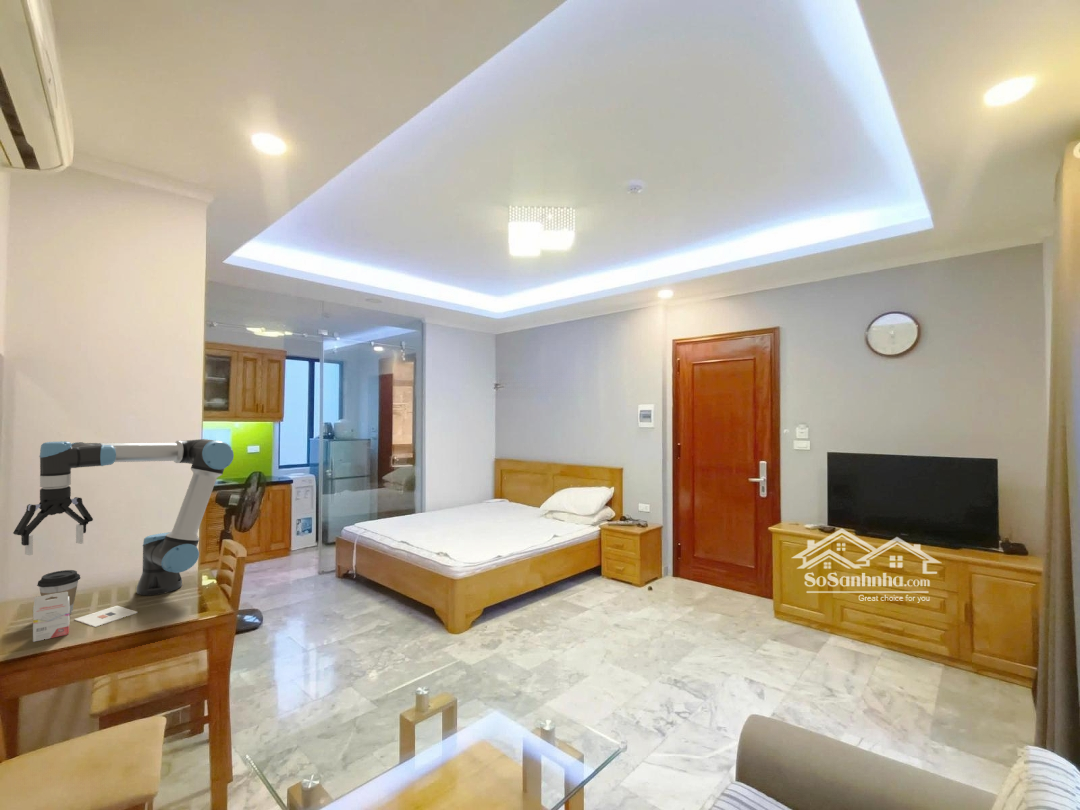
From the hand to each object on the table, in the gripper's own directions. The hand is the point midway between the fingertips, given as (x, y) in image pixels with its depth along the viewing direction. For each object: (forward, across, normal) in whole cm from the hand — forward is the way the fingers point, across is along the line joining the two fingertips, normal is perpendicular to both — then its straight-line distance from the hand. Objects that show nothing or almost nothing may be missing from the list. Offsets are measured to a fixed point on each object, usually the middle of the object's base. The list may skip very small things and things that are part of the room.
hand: (55, 548), depth 167 cm
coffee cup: (+28, -7, -12) cm, 32 cm away
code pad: (+28, -13, +4) cm, 31 cm away
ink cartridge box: (+28, +3, +4) cm, 29 cm away
